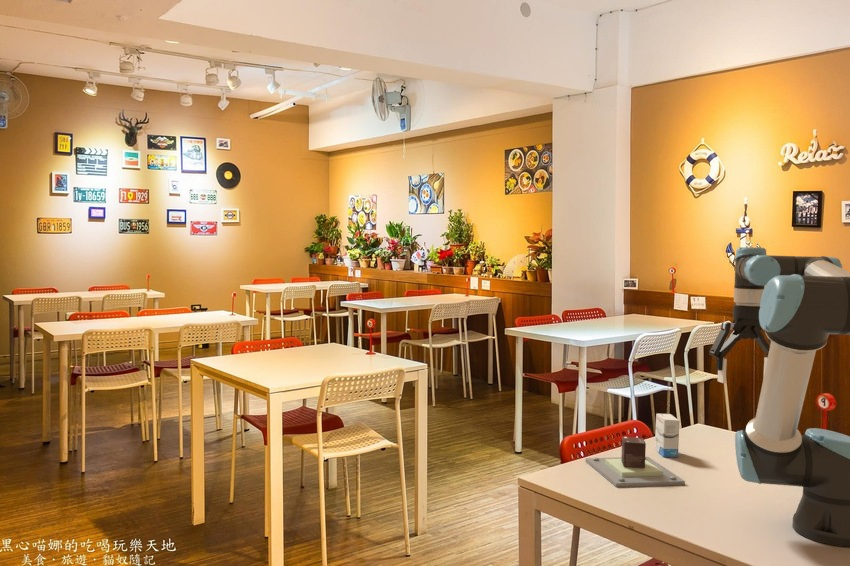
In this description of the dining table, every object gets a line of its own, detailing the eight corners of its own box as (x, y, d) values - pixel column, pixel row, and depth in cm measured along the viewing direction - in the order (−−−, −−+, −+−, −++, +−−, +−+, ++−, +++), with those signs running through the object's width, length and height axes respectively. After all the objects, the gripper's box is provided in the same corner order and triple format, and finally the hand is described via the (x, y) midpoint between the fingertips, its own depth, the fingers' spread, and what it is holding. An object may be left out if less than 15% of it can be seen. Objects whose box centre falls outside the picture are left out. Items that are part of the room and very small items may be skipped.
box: (645, 469, 200) (646, 443, 199) (623, 467, 201) (624, 442, 200) (642, 462, 206) (643, 437, 205) (620, 460, 207) (621, 436, 206)
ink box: (678, 457, 218) (680, 420, 218) (662, 457, 218) (664, 419, 218) (669, 449, 227) (671, 413, 226) (654, 449, 227) (655, 413, 226)
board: (684, 484, 194) (685, 476, 194) (615, 486, 191) (616, 479, 191) (648, 459, 215) (648, 452, 215) (585, 461, 212) (585, 454, 212)
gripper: (781, 303, 197) (777, 378, 198) (698, 302, 193) (694, 379, 194) (799, 305, 189) (795, 384, 190) (713, 305, 185) (709, 385, 187)
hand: (744, 382), depth 192 cm, fingers open, 13 cm apart
